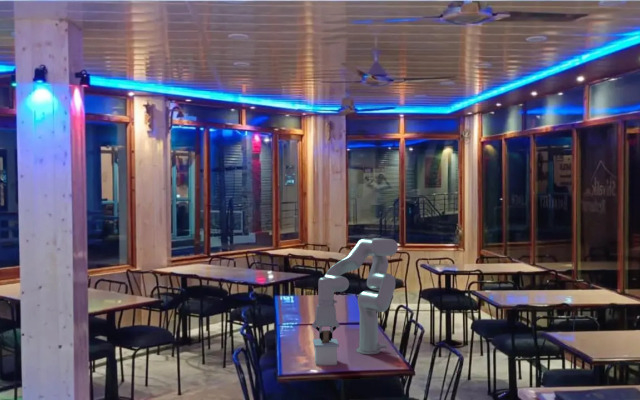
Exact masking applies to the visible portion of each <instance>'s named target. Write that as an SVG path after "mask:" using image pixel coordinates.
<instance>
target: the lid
mask: <svg viewBox="0 0 640 400" xmlns="http://www.w3.org/2000/svg"><path fill="white" fill-rule="evenodd" d="M322 333H323V341H321V339H319V338H316V339H315V338H313V339H312V342H313V347H314V348H315V347H337V348H339V347H340V345H339V342H338V341H339V340H338V339H337V338H332V339H331V341H330V340H329V337H330V329H324V330H323V329H322Z"/></svg>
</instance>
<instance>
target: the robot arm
mask: <svg viewBox="0 0 640 400" xmlns="http://www.w3.org/2000/svg"><path fill="white" fill-rule="evenodd" d="M398 249H399V245H398V242H397V241H396V240H395V239H393V238H385V237H384V238H383V237H382V238H381V237H374V238H373V237H372V238H361V239H359V240H358V241H357V243H355V245H354V246H353V248H352V249H351V250H350V252H349V253H348V255H347V256H345V258H343V259H341V260H339V261H338V262H336V263H335V264H333V265H332V266H330V268H329V269H328V270H327V272H326V273H325V274H324V276H323V277H320V278H318V282H317V283H318V286H317V287H318V290H317V292H318V297H317V298H318V303H317V304H316V306H315V317H314V319H315V320H314V322H313V323H312V325H311V326H312V328H314V329H315V330H316V331H318V333H319V336H318V339H321V341H323V333H322V331H323V327H329V331H330V337H329V340H330V341H331V339H333V333H334V332H335V330H336V329H338V328H340V327H341V325H340V323H339V321H338V319H337V311H336V309H337V308H336V305H335V304H337V303H338V301H337V300H335V299H334V298H335V297H334V296H335V293H336V292H337V293H338V292H345V291H346V290H348V288H349V286H350V282H349V280H348V278H347V277H345V276H342V275H344V274H346V273H349V272H352V271H353V272H354V271H356V270H359V269H360V267H361V266H362V265H363V264H364V262H365V261H366V259H367V258H368V257H369V256H372V264H371V268H370V270H369V273H368V276H367V279H366V286H367V288H369V289H370V290H364V291H362V292H361V291H360V293H359V294H358V296H357V305H358V310H359V311H358V313H359V345H358V346H359V347H357V348H356V352H357V353H358V354H363V355H376V354H380V353H381V349H387V347H388V346H387V344H384V343H379V342H378V341H379V340H378V339H379V335H378V334H379V333H378V332H379V330H378V329H379V323H378V322H379V317H378V314H377V312H379V313H384V312H386V311H387V310H388V309H389V307H390V304H391V301H392V298H393V295H394V293H395V289H396V285H397V284H396V279H395V276H394V275H392V274H391V273H387V272H388V268H389V261H388V258H387V257H388V256H389V257H390V256H393V255H395V254H396V253H397V251H398ZM376 291H378V292H376ZM334 292H335V293H334Z"/></svg>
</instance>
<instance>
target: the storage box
mask: <svg viewBox="0 0 640 400" xmlns="http://www.w3.org/2000/svg"><path fill="white" fill-rule="evenodd" d="M314 361H315V365H316V366H319V367H320V366H338V347H315V346H314Z"/></svg>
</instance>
